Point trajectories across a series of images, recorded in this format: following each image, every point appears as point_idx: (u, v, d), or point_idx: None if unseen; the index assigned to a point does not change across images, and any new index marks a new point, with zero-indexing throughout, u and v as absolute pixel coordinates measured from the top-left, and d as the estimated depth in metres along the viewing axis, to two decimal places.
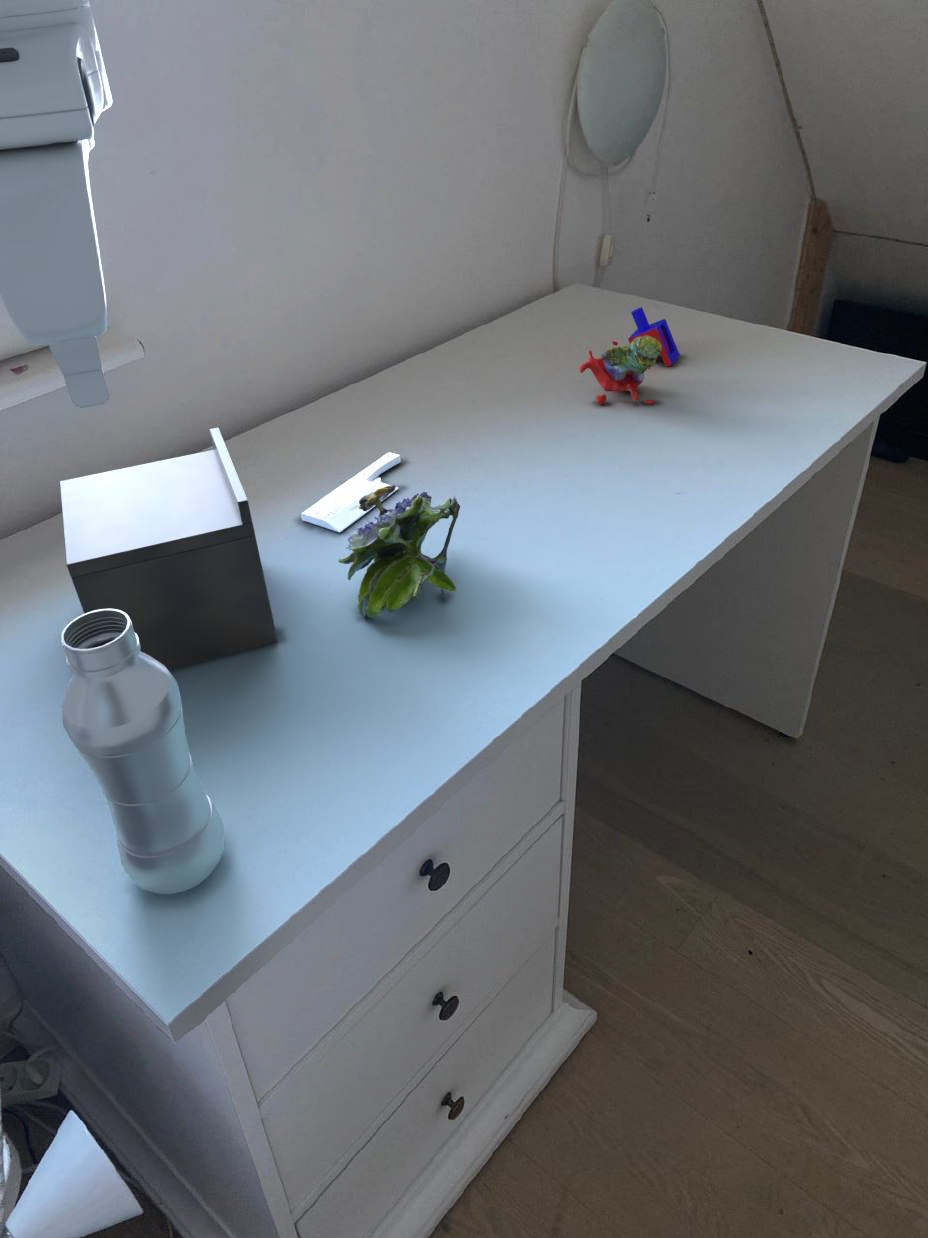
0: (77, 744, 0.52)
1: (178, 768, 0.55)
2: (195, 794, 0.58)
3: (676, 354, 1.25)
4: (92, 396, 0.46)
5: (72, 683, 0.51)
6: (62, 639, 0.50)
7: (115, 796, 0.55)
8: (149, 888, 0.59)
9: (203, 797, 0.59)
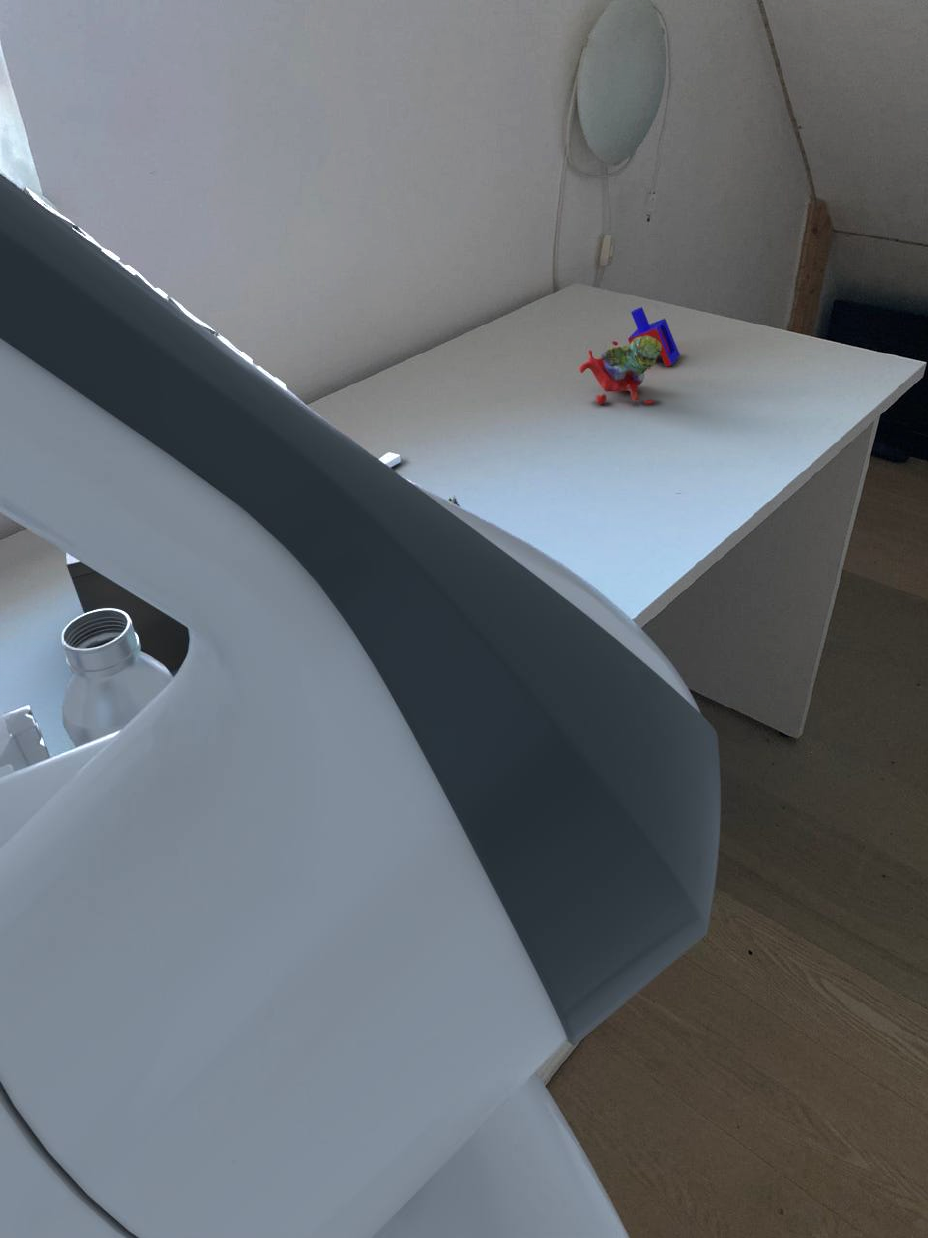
0: (77, 744, 0.52)
1: None
2: None
3: (676, 354, 1.25)
4: None
5: (72, 683, 0.51)
6: (62, 639, 0.50)
7: None
8: None
9: None
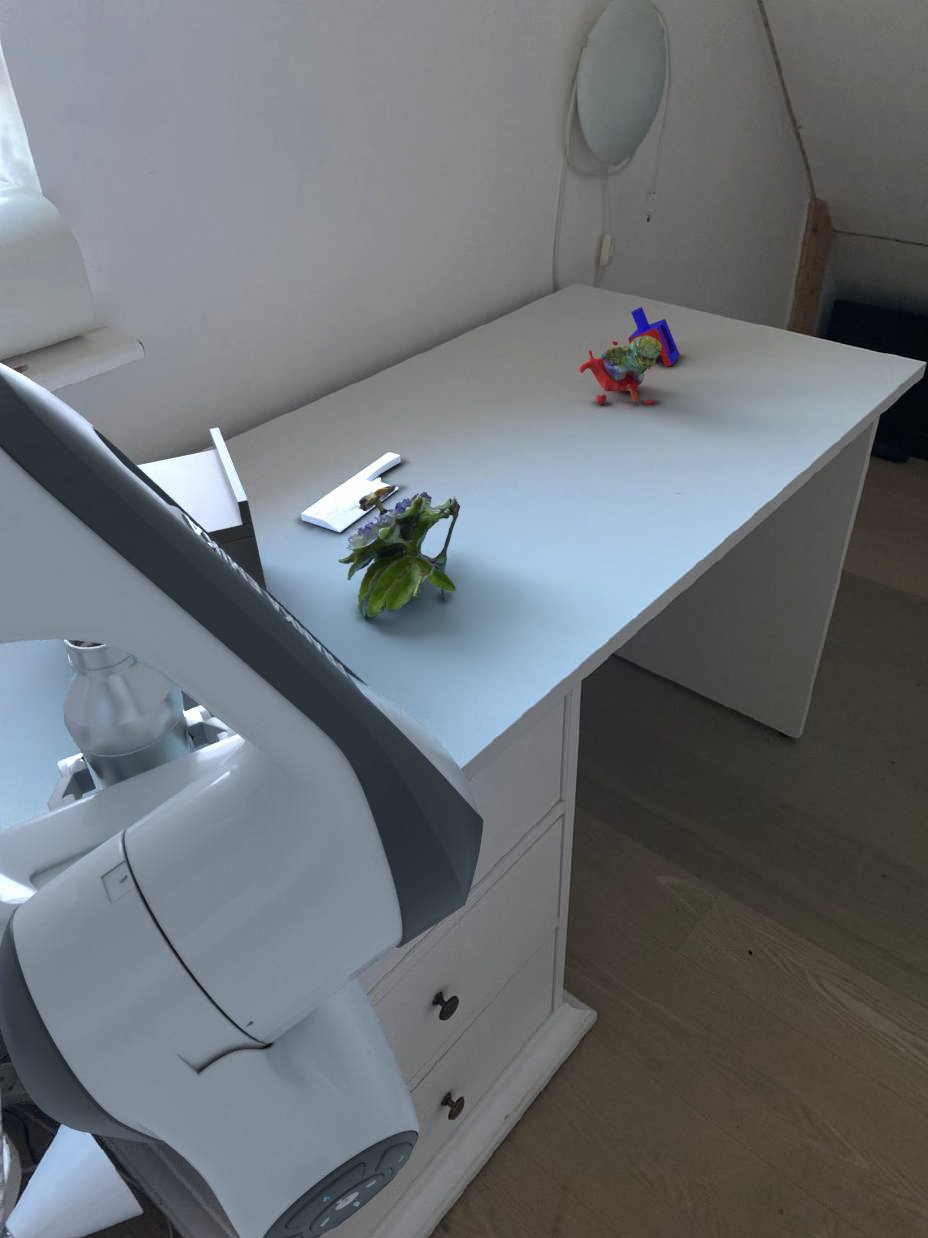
0: (79, 743, 0.52)
1: None
2: None
3: (676, 354, 1.25)
4: None
5: (74, 682, 0.51)
6: None
7: None
8: None
9: None
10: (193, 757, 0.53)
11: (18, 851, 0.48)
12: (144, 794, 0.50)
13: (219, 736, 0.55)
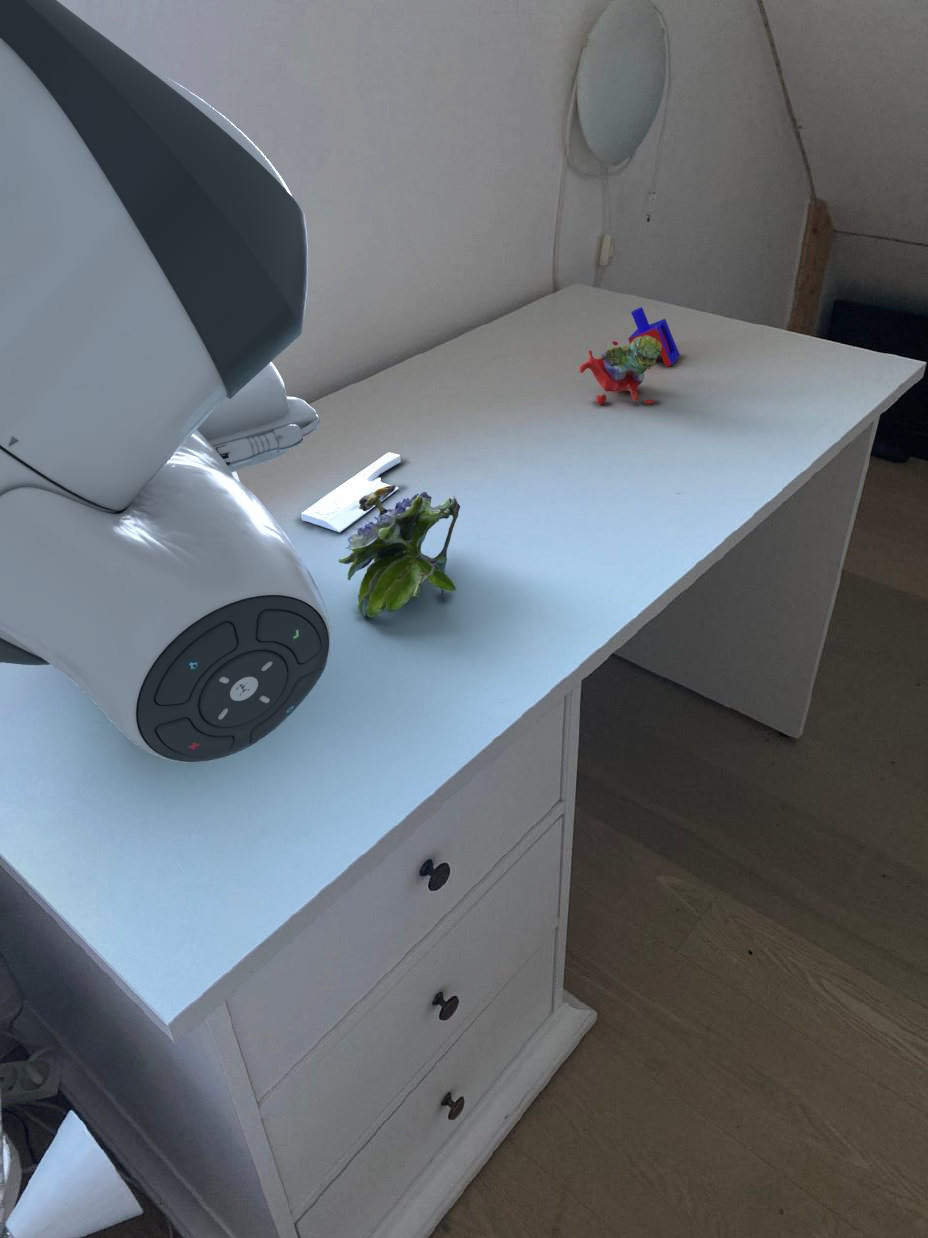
0: None
1: None
2: None
3: (676, 354, 1.25)
4: None
5: None
6: None
7: None
8: None
9: None
10: None
11: None
12: None
13: None
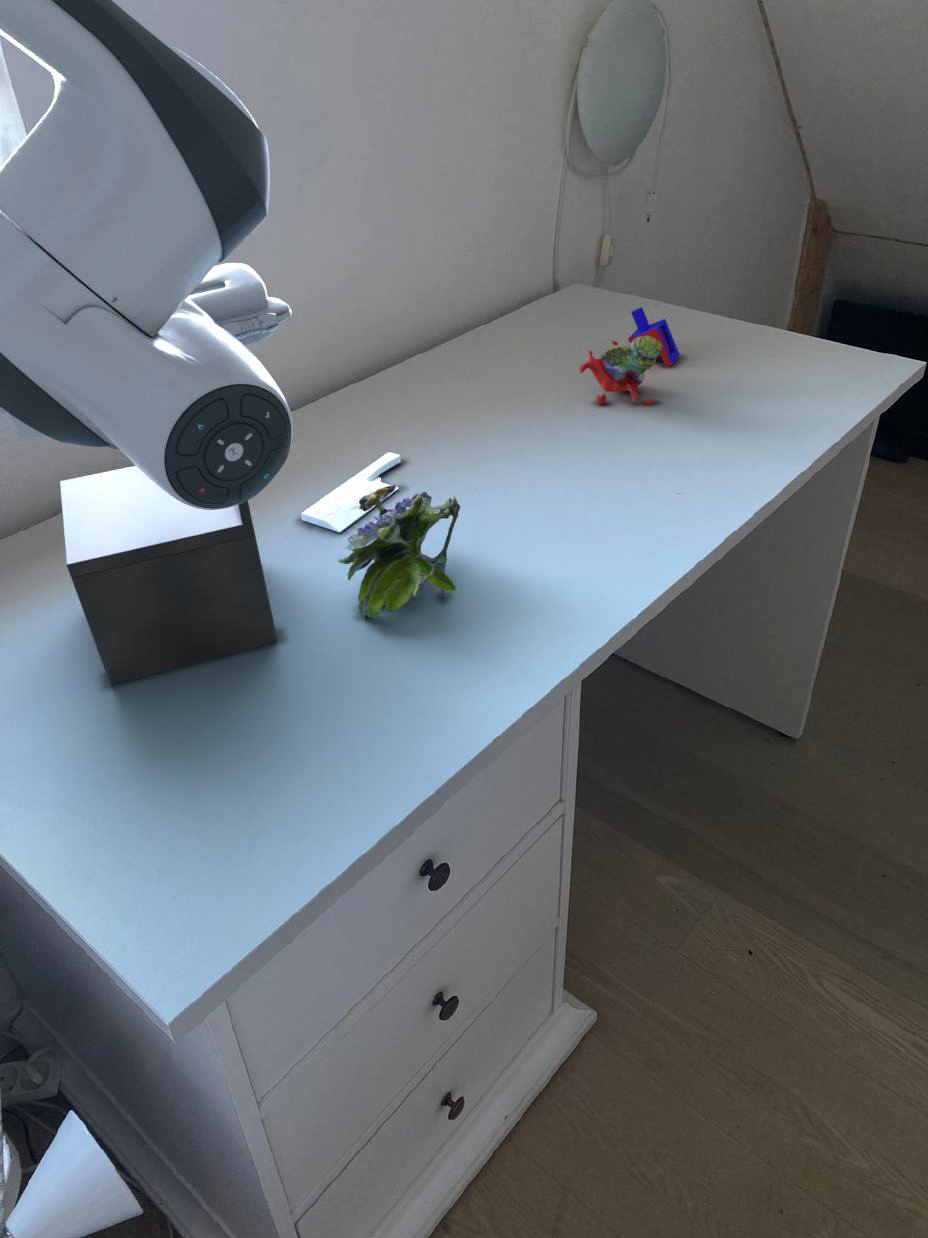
0: None
1: None
2: None
3: (676, 354, 1.25)
4: None
5: None
6: None
7: None
8: None
9: None
10: None
11: None
12: None
13: None
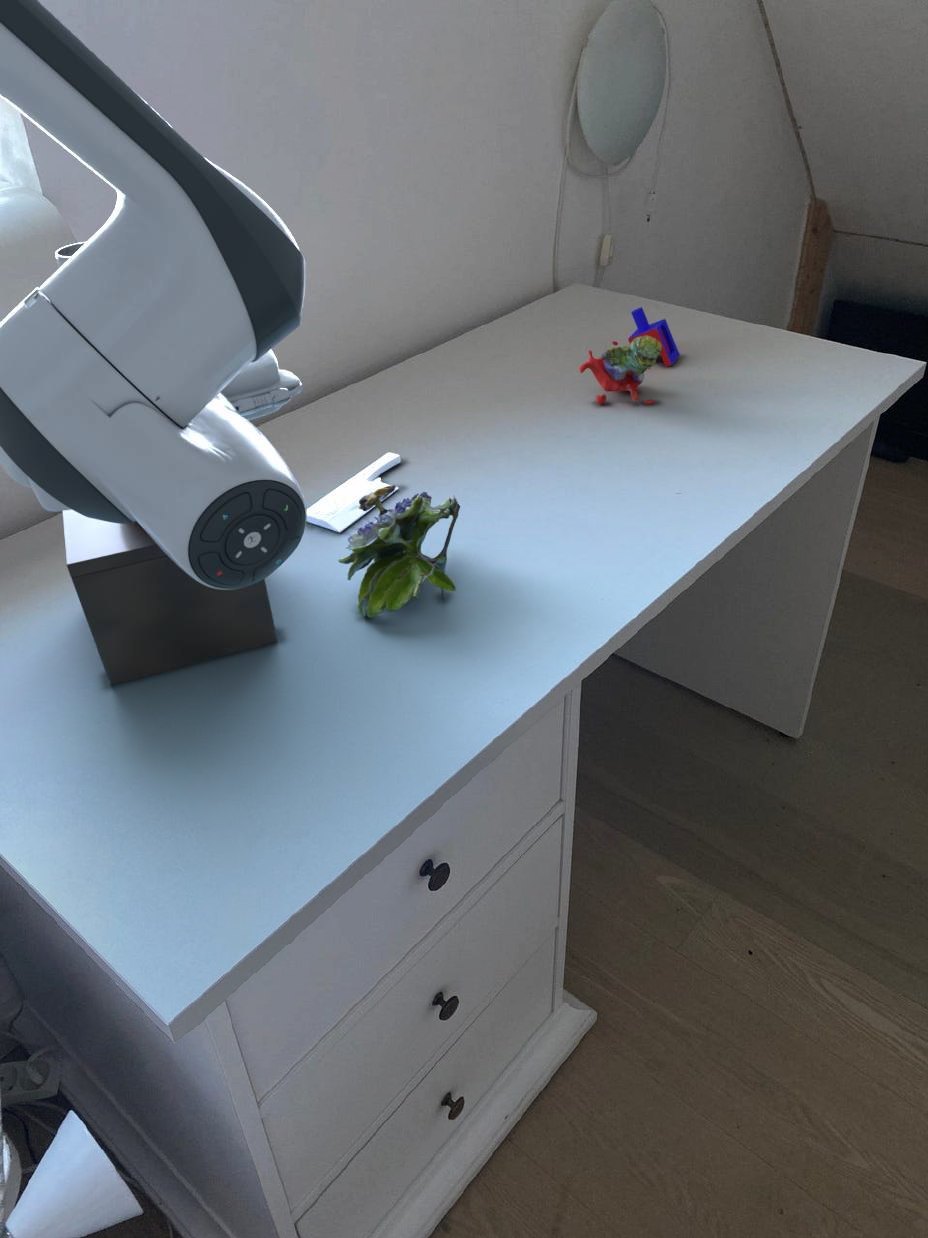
0: None
1: None
2: None
3: (676, 354, 1.25)
4: None
5: None
6: (56, 253, 0.64)
7: None
8: None
9: None
10: None
11: None
12: None
13: None
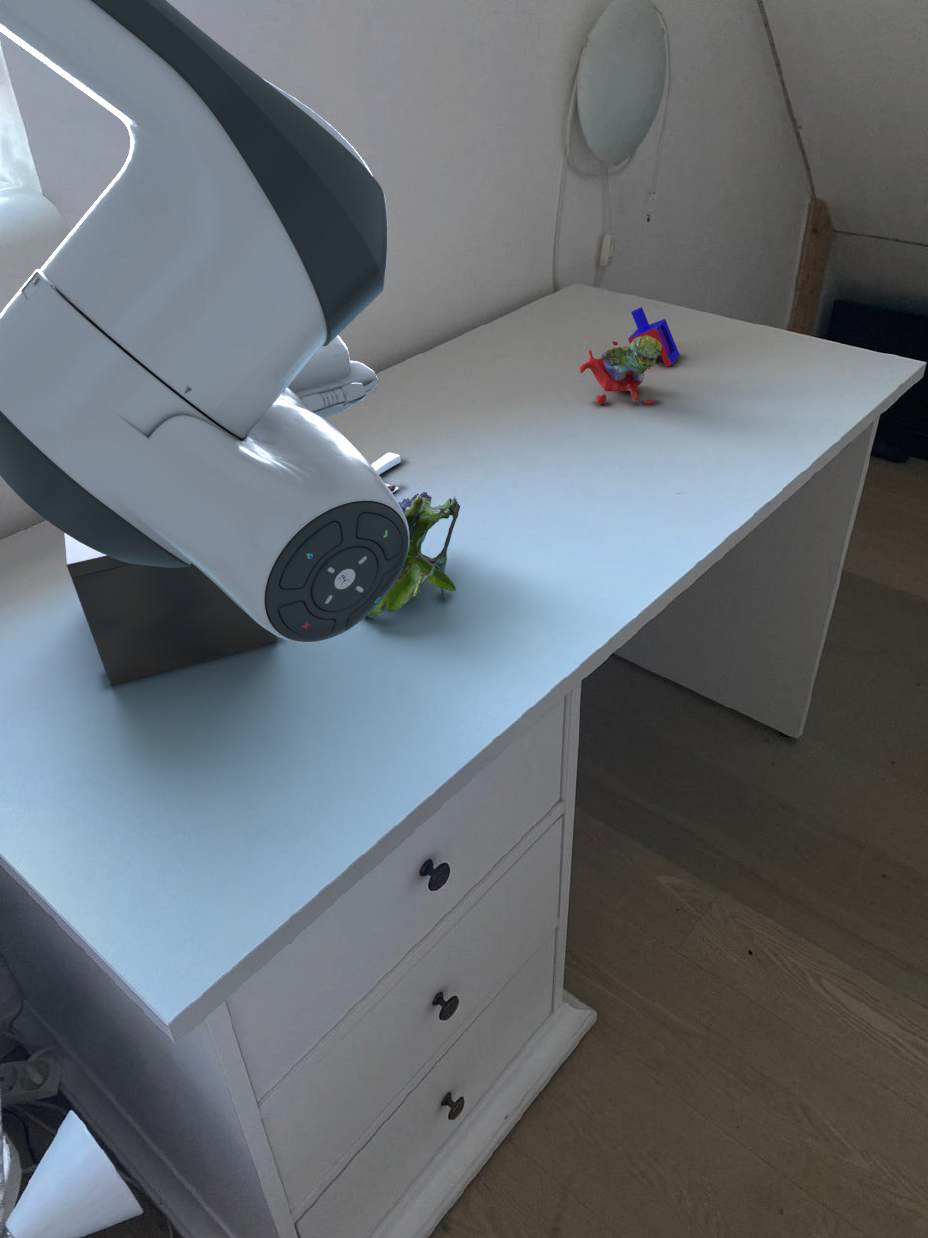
0: None
1: None
2: None
3: (676, 354, 1.25)
4: None
5: None
6: None
7: None
8: None
9: None
10: None
11: None
12: None
13: None
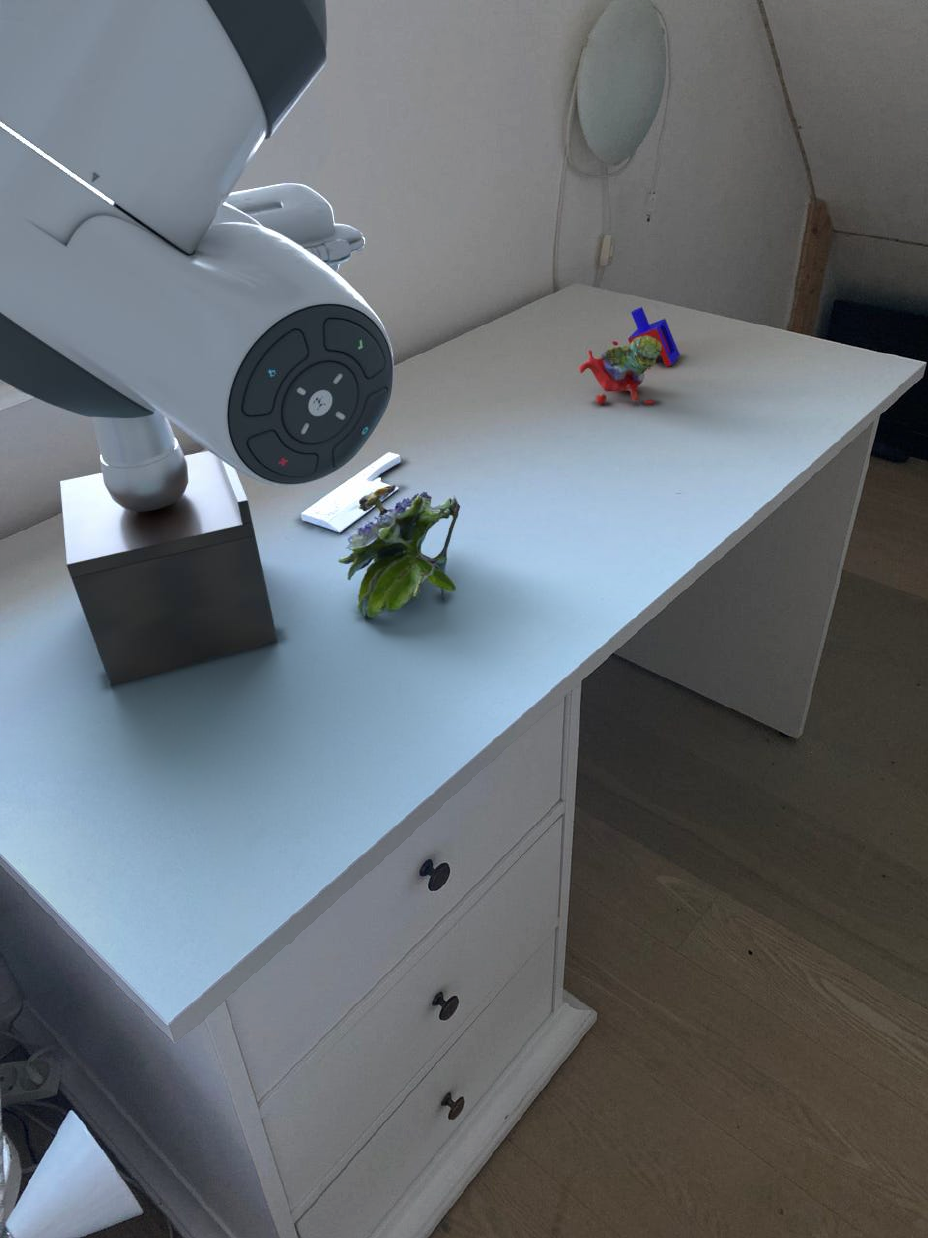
0: None
1: None
2: (163, 419, 0.73)
3: (676, 354, 1.25)
4: None
5: None
6: None
7: None
8: (126, 501, 0.74)
9: (170, 428, 0.74)
10: None
11: None
12: None
13: None
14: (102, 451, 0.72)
